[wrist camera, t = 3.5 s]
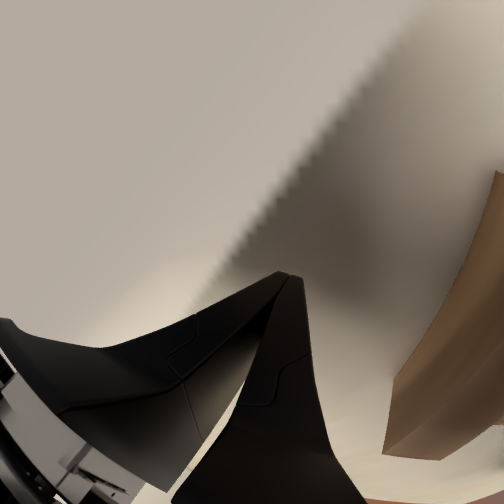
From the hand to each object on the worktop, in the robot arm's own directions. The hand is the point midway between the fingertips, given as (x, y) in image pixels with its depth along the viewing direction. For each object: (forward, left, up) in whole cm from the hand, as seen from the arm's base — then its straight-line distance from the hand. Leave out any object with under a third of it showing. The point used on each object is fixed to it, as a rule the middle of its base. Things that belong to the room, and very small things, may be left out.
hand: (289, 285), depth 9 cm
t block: (-10, 0, -1) cm, 10 cm away
